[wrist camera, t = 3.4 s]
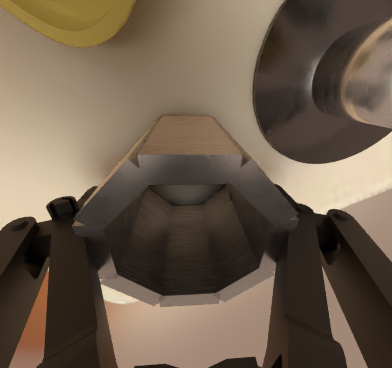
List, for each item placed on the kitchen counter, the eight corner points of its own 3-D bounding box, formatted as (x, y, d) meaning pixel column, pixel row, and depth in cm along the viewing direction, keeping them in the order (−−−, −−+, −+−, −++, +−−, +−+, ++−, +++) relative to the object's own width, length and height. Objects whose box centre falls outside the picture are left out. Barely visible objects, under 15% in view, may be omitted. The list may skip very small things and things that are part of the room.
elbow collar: (122, 114, 14) (41, 154, 6) (247, 116, 14) (325, 154, 6) (139, 215, 19) (108, 310, 11) (232, 213, 19) (266, 300, 11)
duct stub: (279, -81, 9) (378, -252, 5) (508, -61, 10) (788, -185, 6) (240, 162, 16) (264, 194, 12) (380, 161, 17) (456, 191, 12)
